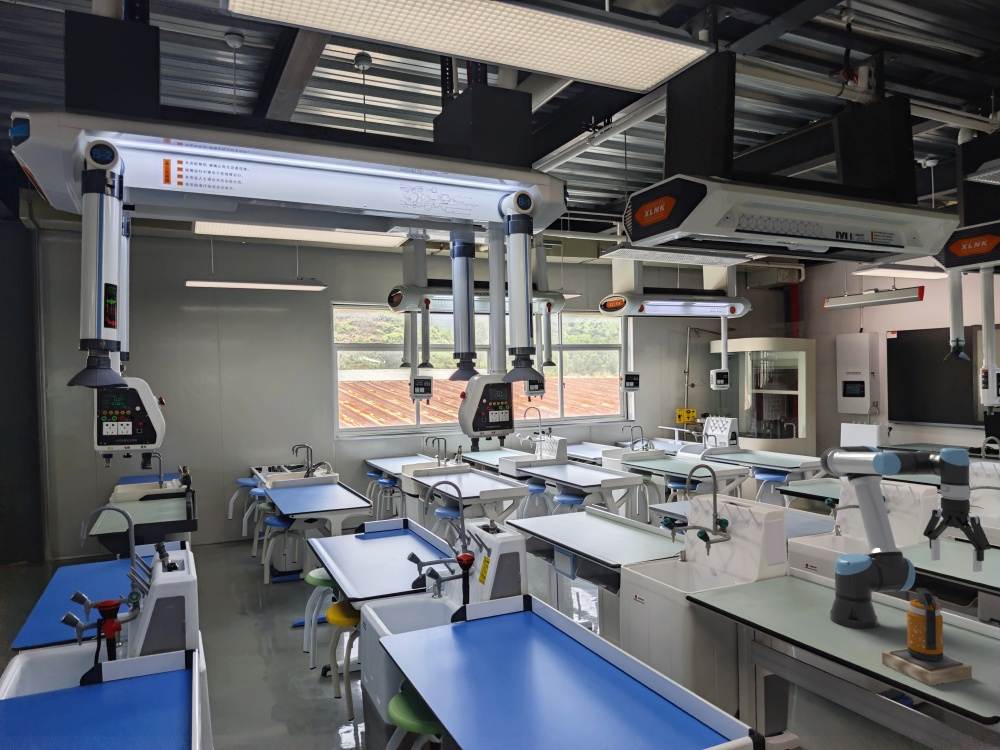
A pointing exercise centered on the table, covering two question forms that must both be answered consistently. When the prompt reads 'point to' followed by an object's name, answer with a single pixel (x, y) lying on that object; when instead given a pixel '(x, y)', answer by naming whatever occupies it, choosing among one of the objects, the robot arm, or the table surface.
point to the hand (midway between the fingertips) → (955, 565)
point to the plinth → (927, 667)
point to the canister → (925, 627)
